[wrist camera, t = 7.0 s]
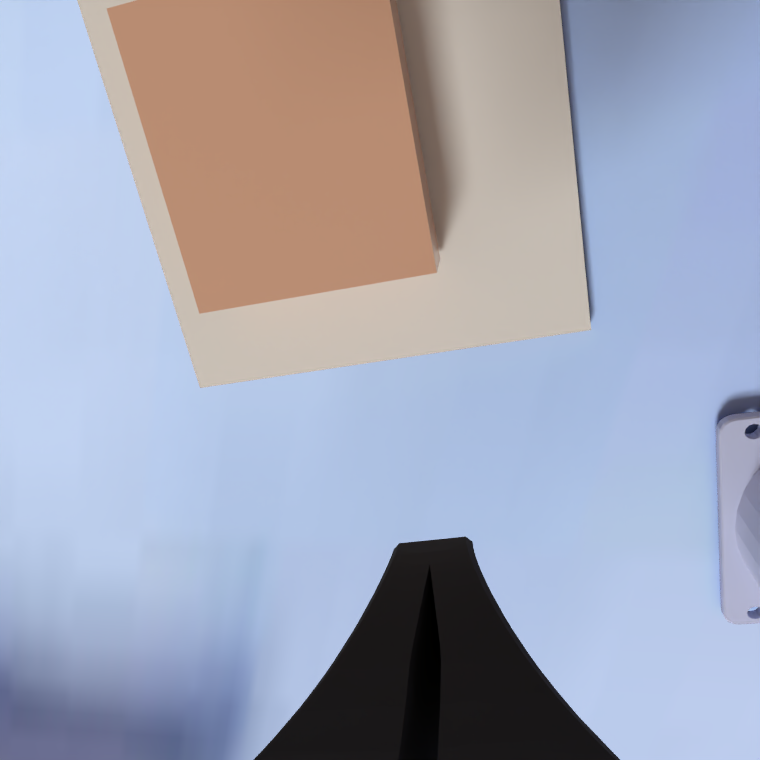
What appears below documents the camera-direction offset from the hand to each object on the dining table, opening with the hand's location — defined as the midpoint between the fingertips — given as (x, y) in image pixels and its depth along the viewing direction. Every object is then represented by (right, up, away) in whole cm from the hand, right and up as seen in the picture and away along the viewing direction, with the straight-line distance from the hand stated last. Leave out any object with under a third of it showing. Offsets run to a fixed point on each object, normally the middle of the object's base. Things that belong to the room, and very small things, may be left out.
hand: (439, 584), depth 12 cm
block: (0, +11, +5) cm, 12 cm away
